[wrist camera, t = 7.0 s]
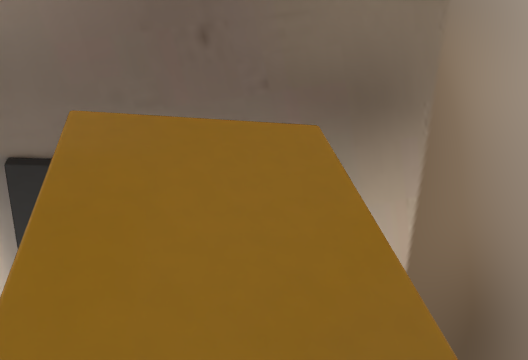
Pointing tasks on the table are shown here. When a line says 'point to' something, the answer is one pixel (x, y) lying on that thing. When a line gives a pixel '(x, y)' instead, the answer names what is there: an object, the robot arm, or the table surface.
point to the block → (206, 251)
